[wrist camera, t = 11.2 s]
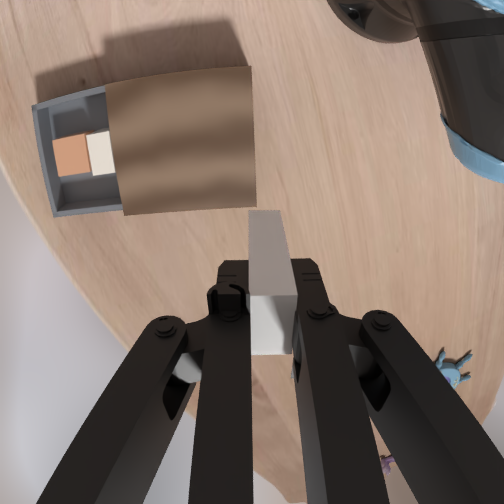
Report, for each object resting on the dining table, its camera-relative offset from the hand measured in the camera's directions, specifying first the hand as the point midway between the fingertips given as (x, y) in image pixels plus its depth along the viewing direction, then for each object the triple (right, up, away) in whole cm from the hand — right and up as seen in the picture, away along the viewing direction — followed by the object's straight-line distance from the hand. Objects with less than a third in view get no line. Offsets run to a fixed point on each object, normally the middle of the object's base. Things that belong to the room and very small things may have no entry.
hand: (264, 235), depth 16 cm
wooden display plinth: (-9, +14, +22) cm, 28 cm away
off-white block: (-17, +12, +19) cm, 28 cm away
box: (-23, +13, +22) cm, 34 cm away
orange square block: (-23, +11, +19) cm, 32 cm away
